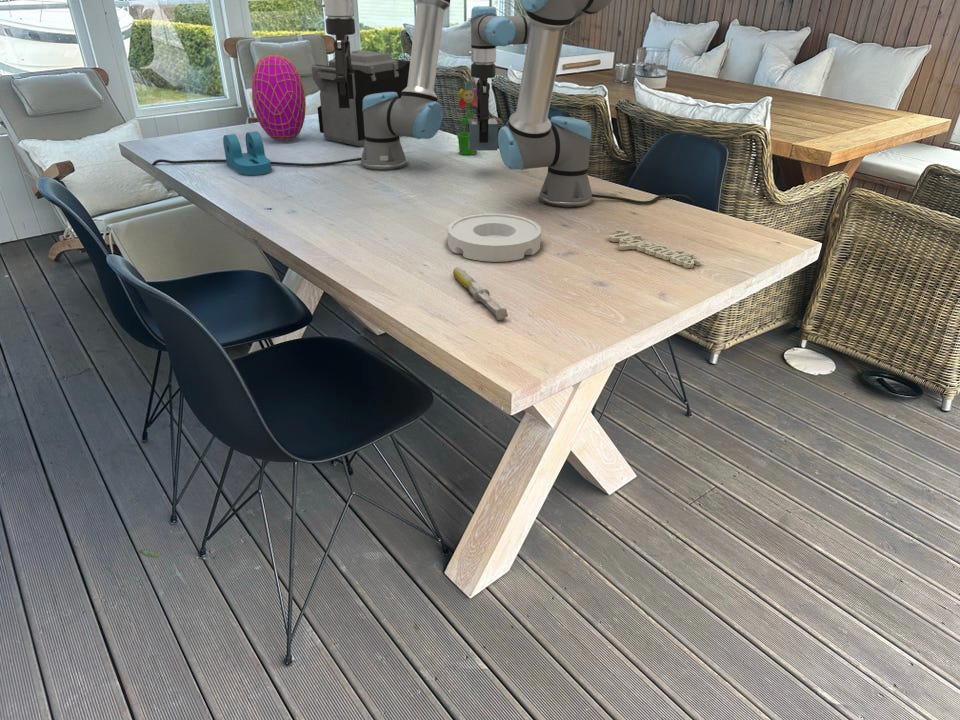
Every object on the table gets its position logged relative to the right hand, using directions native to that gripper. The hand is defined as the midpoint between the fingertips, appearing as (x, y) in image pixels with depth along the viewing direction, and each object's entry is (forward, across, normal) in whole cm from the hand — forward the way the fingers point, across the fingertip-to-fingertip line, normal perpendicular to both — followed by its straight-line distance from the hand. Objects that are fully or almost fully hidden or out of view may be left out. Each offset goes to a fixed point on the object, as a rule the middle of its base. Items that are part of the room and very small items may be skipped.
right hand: (482, 138), depth 221 cm
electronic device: (+11, -56, -41) cm, 71 cm away
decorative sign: (+12, +70, +36) cm, 80 cm away
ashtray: (+12, +64, -2) cm, 65 cm away
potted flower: (+11, -28, -3) cm, 31 cm away
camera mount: (+11, -9, -77) cm, 78 cm away
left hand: (-15, +25, -40) cm, 49 cm away
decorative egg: (+11, -50, -73) cm, 89 cm away
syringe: (+12, +94, -8) cm, 95 cm away
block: (+3, 0, 0) cm, 3 cm away
